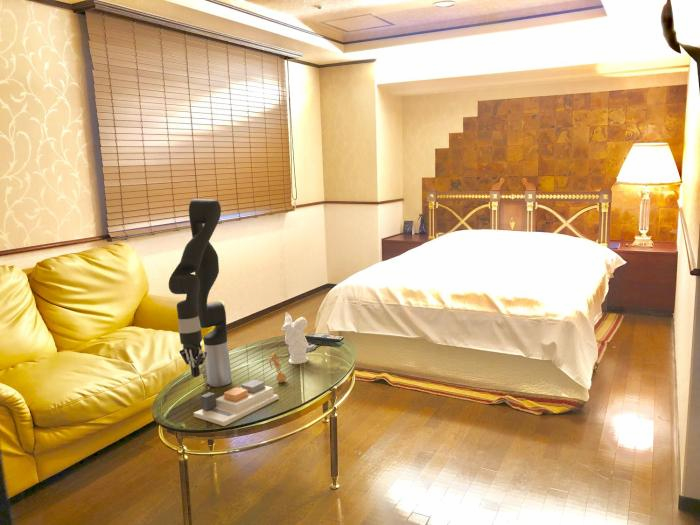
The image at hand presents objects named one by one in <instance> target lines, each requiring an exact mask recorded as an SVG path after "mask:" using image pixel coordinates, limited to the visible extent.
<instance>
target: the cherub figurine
mask: <svg viewBox="0 0 700 525" xmlns="http://www.w3.org/2000/svg"><path fill="white" fill-rule="evenodd" d="M284 318H285V319H284V321H283V322H284V324H283V325H282V326H281V327H280V330H281V331H283V332H284V331H285V338H284V343H285V345H288V349H289V353H290V354H289V353H288V354H289V359H288V362H289V364H290V365H301V364H306V363H307V362H308V361H309V357H307V354H306V353H307V352H306V348H308V347H309V344H308V343H309V342H308V340H307V338H306V336H305V335H304V330H305V329H306V328H308V323H309V322H308V320H307V319H306V317H304V316H301V317H299V318H297V319H295V321H293V318H292V316H291V315H290V314H289V312H288V311H286V312H285V317H284Z"/></svg>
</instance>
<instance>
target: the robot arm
mask: <svg viewBox="0 0 700 525" xmlns="http://www.w3.org/2000/svg"><path fill="white" fill-rule="evenodd" d="M221 214H222V207H221V203H220V201H218V200H217V199H207V198H206V199H204V198H194V199H192V200H190V203H189V206H188V215H189V216H188V217H189V225H190V230H191V236H192V238H191V239H190V240H189V241H188V243H186V245H185V247H184V249H183V252H182V256H181V259H180V262H179V263H178V265H176V267H175V269H174V270H173V272H172V273H171V275H170V277H169V281H168V289H169V291H170V293H172V294H174V295H186V297H185V299H183V300H181V301H179V302H177V303H176V311H177V319H178V320H177V321H178V322H177V326H178V332H179V341H180V344H181V345H182V349H180V350H179V354H180V356H181V358H182V359H183V361H184V362H185V364H186V365H189V367H190V372H191V376H192V377H193V378H197V377H198V378H199V376H200V375H201V374H200V372H201V371H200V366H201V365H203V364H204V366H205V367H204V368H205V374H206V375H205V376H206V383H207V384H208V385H209V387H213V388H214V387H215V388H219V387H224V386H228V385H229V384H231V383H232V381H233V380H232V372H231V371H232V370H231V362H230V354H229V353H230V352H229V345H228V327H227V313H226V308H225V306H224V304H223V303H222V302H221V301H217V302H211V303H208V297H209V294H210V291H211V289H212V287H213V286H214V284H215V282H216V280H217V278H218V275H219V273H220V265H219V256H218V253H217V251H216V250H215V248H214V246H213V245H212V244H211V241H210V240H211V238H212V236H213V235H214V232H215V230H216V228H217V226H218V224H219V221H220V217H221V216H222V215H221ZM213 327H214V328H213ZM208 328H212V331H210V332H208V333H207V334H206V335H204V336H203V335H202V329H208ZM202 341H203V347H204V350H202V344H201V342H202Z"/></svg>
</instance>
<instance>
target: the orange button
mask: <svg viewBox="0 0 700 525" xmlns="http://www.w3.org/2000/svg"><path fill="white" fill-rule="evenodd" d="M223 395H224V399H226V400H229V401H233V402H237V401H239V400H241V399H243V398H245V397H247V396H248V390H246V389H242V388H241V387H239V386H236V387H233V388H231V389H229V390H227V391H224V392H223Z"/></svg>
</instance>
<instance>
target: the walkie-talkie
mask: <svg viewBox="0 0 700 525" xmlns="http://www.w3.org/2000/svg"><path fill="white" fill-rule="evenodd" d="M308 344H309V347H308V348H306V353H309V352H312V351H314V350H316V347H317V346H319V345H316V347H314V346H315V344H312V343H311V342H308ZM313 347H314V348H313ZM287 351H288V352H287V353H288V355H290V353H289V348H288V350H287Z"/></svg>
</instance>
